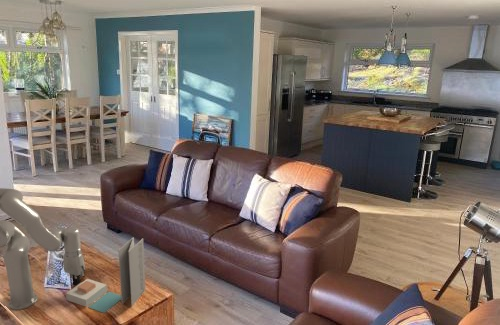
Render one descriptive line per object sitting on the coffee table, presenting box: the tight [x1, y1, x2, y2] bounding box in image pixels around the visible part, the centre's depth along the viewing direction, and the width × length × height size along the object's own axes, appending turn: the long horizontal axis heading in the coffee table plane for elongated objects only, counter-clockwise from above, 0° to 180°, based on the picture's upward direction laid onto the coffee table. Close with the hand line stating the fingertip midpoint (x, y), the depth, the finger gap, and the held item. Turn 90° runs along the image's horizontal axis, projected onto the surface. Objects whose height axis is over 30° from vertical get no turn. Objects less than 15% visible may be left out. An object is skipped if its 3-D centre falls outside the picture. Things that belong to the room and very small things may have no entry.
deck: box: [65, 278, 108, 308], centre depth 191 cm, size 13×14×4 cm
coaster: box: [77, 280, 96, 294], centre depth 191 cm, size 6×6×2 cm
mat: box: [87, 291, 122, 314], centre depth 187 cm, size 10×14×1 cm
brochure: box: [117, 236, 146, 307], centre depth 188 cm, size 14×6×30 cm, turn 168°
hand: (76, 283), depth 193 cm, fingers closed
